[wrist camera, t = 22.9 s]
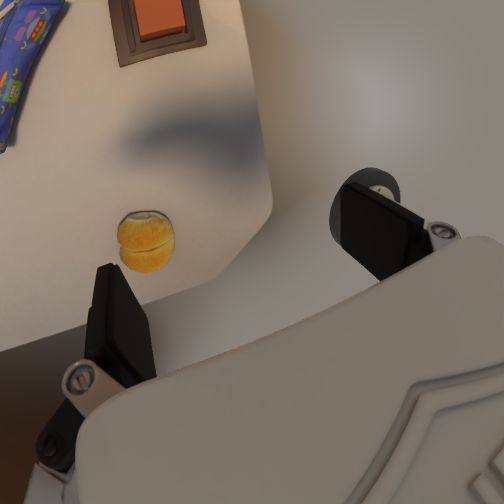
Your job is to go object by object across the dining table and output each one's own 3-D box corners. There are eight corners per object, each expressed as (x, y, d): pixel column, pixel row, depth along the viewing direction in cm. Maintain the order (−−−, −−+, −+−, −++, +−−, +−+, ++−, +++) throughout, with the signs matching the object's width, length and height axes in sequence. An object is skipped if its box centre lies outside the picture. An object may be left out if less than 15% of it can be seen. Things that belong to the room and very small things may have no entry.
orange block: (173, -5, 21) (177, -16, 18) (181, 33, 25) (185, 25, 22) (133, 5, 20) (133, -6, 17) (140, 43, 24) (140, 35, 21)
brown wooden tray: (188, -40, 19) (195, -57, 15) (205, 45, 28) (215, 37, 23) (105, -22, 17) (101, -37, 13) (120, 67, 25) (116, 61, 21)
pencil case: (29, -5, 13) (4, -26, 5) (77, -2, 17) (60, -28, 9) (-26, 143, 20) (-62, 160, 13) (16, 152, 24) (-17, 170, 17)
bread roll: (123, 268, 39) (122, 283, 36) (115, 213, 35) (113, 225, 32) (174, 262, 42) (178, 277, 39) (173, 208, 38) (176, 219, 35)
